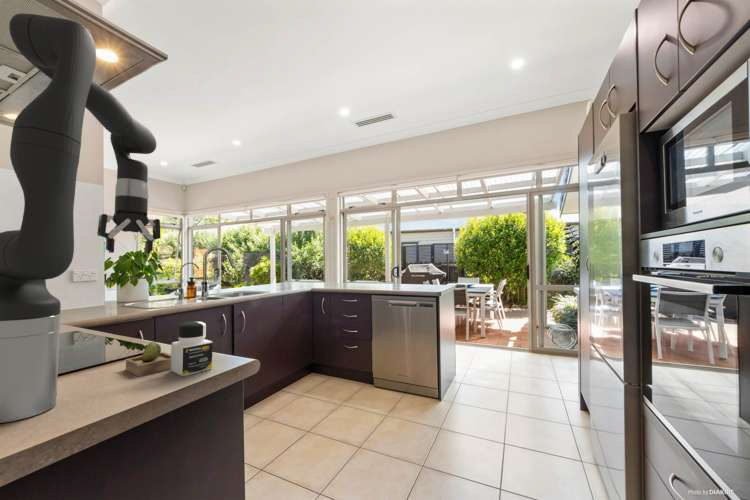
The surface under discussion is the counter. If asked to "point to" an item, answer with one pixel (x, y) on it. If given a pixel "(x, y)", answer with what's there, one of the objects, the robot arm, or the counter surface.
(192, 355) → the medicine bottle
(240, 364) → the counter surface
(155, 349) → the lime
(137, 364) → the base
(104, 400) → the counter surface
